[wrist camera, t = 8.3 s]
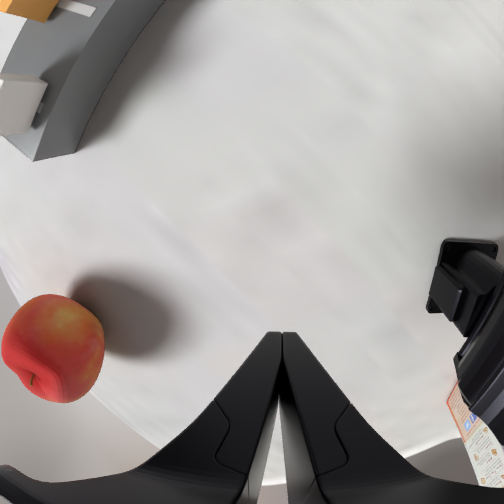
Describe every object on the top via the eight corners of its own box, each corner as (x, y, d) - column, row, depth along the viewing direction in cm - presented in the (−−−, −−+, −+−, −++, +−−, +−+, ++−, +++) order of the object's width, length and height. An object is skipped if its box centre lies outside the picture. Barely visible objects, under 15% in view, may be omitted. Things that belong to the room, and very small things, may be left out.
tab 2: (48, 83, 13) (3, 80, 9) (28, 132, 14) (-16, 138, 10) (34, 75, 12) (-9, 72, 9) (15, 122, 14) (-27, 127, 10)
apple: (36, 300, 26) (-20, 351, 17) (76, 257, 23) (2, 315, 14) (92, 365, 28) (50, 427, 19) (142, 338, 26) (95, 417, 17)
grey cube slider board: (221, -59, 12) (208, -94, 8) (74, 153, 20) (32, 161, 15) (147, -74, 11) (125, -101, 7) (22, 115, 19) (-17, 119, 14)
